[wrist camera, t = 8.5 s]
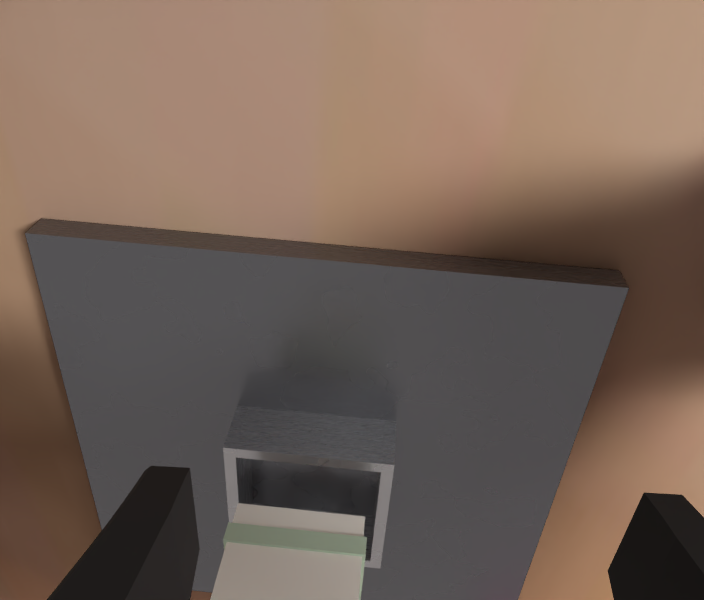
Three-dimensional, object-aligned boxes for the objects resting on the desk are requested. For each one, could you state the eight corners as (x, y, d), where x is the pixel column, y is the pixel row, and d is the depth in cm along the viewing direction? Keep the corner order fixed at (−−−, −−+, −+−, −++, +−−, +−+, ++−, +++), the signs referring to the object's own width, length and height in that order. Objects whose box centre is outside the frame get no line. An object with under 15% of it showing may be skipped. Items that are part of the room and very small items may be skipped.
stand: (619, 270, 19) (660, 346, 16) (506, 604, 29) (517, 691, 26) (41, 218, 20) (-30, 281, 17) (123, 562, 30) (89, 642, 27)
